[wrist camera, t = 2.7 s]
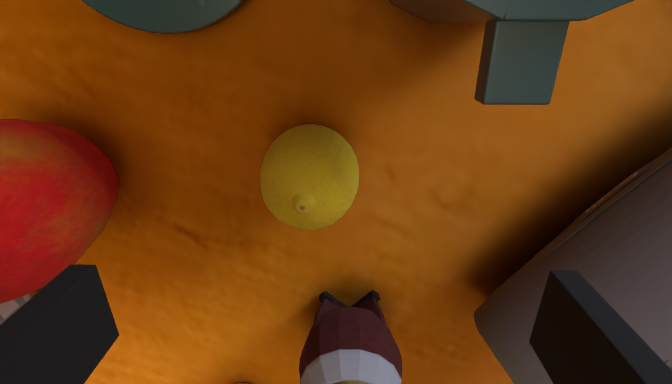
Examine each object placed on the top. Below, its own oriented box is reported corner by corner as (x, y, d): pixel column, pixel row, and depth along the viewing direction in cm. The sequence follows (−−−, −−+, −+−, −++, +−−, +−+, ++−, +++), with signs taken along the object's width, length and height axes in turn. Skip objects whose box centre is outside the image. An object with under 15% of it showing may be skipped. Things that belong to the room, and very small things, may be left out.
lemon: (259, 129, 24) (221, 175, 16) (339, 98, 23) (337, 132, 15) (294, 201, 26) (274, 270, 18) (368, 175, 25) (378, 237, 17)
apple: (161, 130, 24) (5, 218, 13) (140, 239, 27) (4, 381, 16) (12, 75, 22) (-301, 122, 12) (11, 197, 26) (-230, 321, 15)
